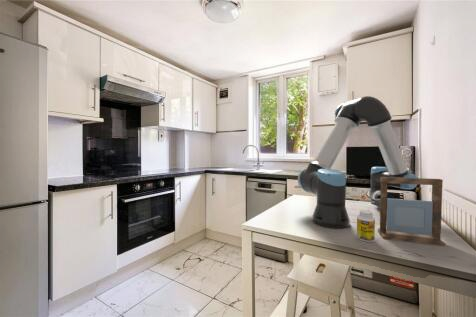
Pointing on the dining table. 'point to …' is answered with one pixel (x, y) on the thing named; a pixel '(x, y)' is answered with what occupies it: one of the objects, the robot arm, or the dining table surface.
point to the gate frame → (436, 211)
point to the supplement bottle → (365, 226)
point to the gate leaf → (409, 216)
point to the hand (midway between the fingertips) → (397, 211)
